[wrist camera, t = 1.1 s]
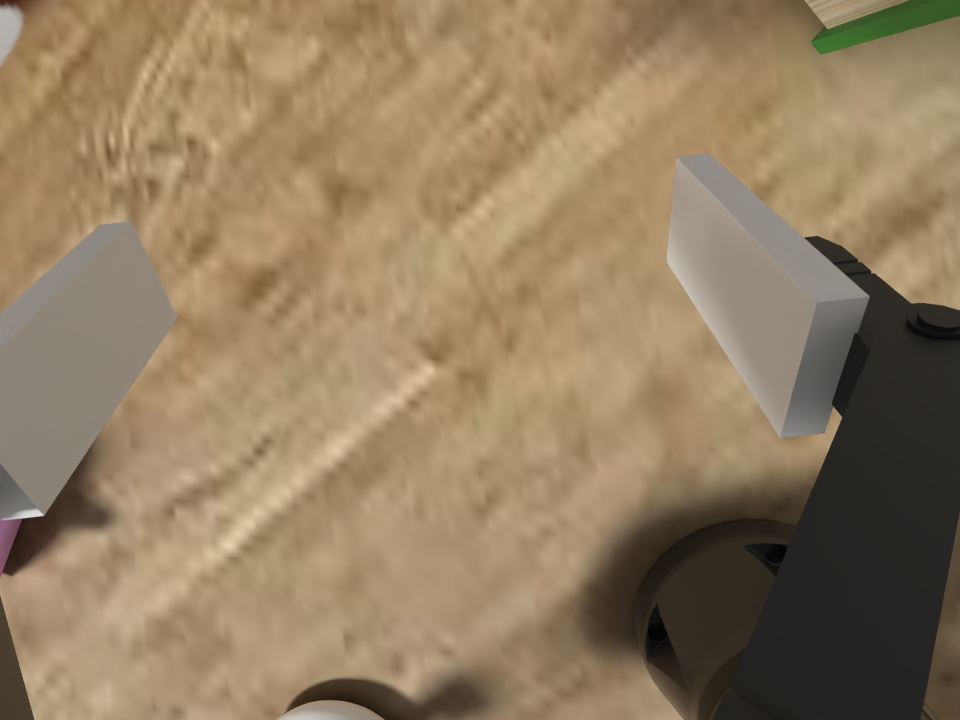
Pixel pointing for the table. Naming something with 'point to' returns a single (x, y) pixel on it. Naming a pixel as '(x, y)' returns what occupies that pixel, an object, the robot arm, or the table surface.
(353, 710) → the flower in vase
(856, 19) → the hardback book
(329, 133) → the table surface
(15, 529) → the teapot
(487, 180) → the table surface
